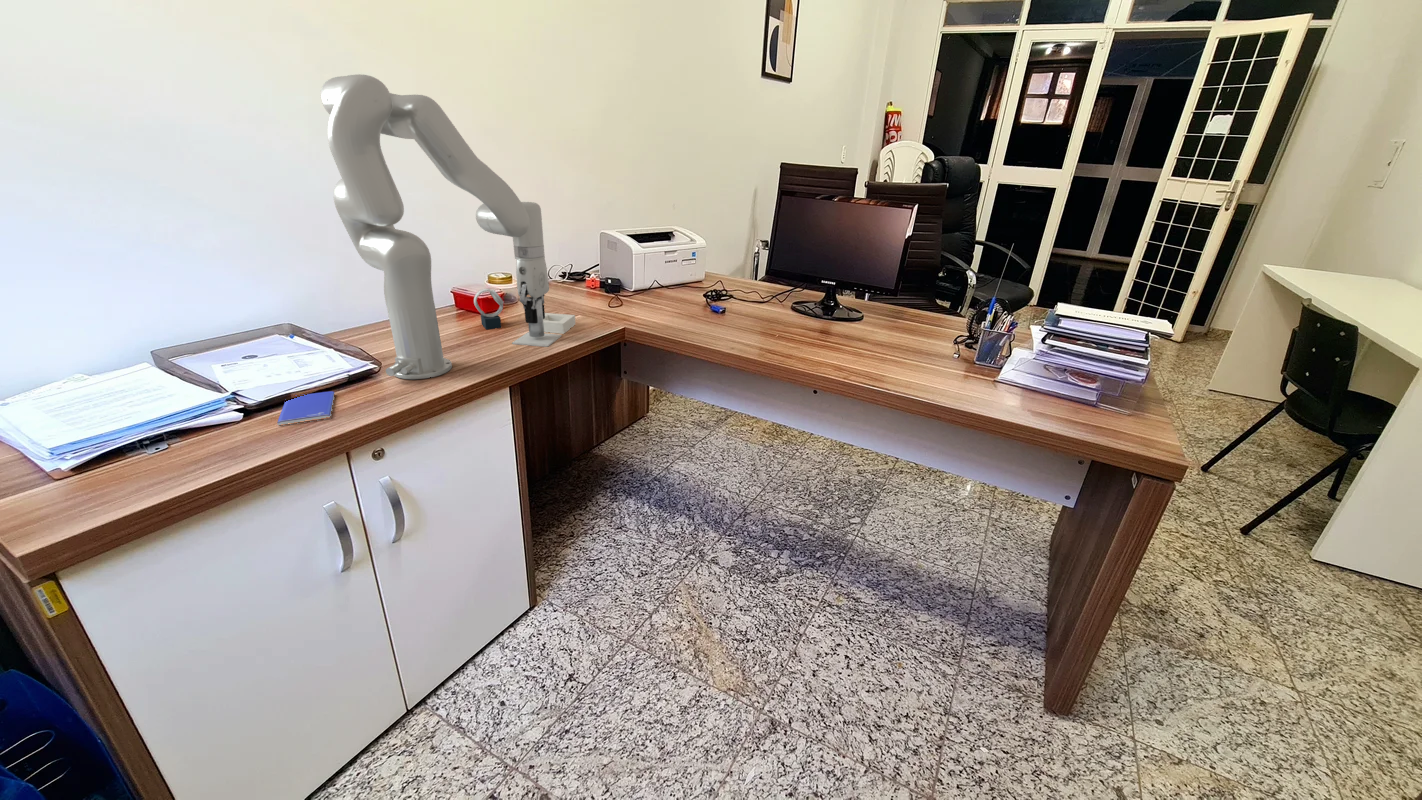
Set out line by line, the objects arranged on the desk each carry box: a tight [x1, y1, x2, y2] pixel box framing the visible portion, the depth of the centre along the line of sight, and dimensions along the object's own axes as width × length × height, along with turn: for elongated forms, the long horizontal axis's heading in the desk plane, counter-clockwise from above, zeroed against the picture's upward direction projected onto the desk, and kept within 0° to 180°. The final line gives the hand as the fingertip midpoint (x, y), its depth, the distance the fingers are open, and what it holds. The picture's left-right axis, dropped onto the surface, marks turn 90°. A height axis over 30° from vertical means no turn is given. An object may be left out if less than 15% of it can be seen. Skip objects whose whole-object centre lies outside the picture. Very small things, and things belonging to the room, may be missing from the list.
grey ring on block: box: [473, 288, 505, 330], centre depth 161 cm, size 6×8×11 cm
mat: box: [511, 331, 562, 348], centre depth 153 cm, size 10×10×1 cm
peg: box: [527, 298, 545, 337], centre depth 151 cm, size 4×4×10 cm
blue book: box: [277, 390, 336, 426], centre depth 109 cm, size 2×8×12 cm
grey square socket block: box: [543, 312, 576, 335], centre depth 164 cm, size 10×10×3 cm
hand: (535, 319), depth 151 cm, fingers closed on peg, 4 cm apart
